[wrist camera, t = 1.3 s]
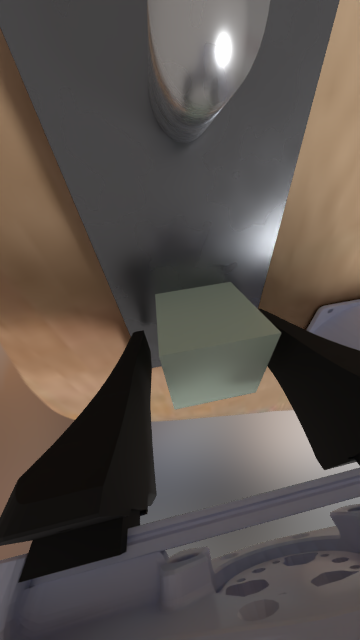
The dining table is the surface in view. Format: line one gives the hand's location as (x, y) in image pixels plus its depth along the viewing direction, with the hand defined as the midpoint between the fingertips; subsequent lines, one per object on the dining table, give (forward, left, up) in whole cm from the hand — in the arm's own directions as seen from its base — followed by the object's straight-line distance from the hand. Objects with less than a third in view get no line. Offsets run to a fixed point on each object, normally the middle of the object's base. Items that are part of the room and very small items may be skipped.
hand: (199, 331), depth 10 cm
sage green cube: (0, 0, -2) cm, 2 cm away
